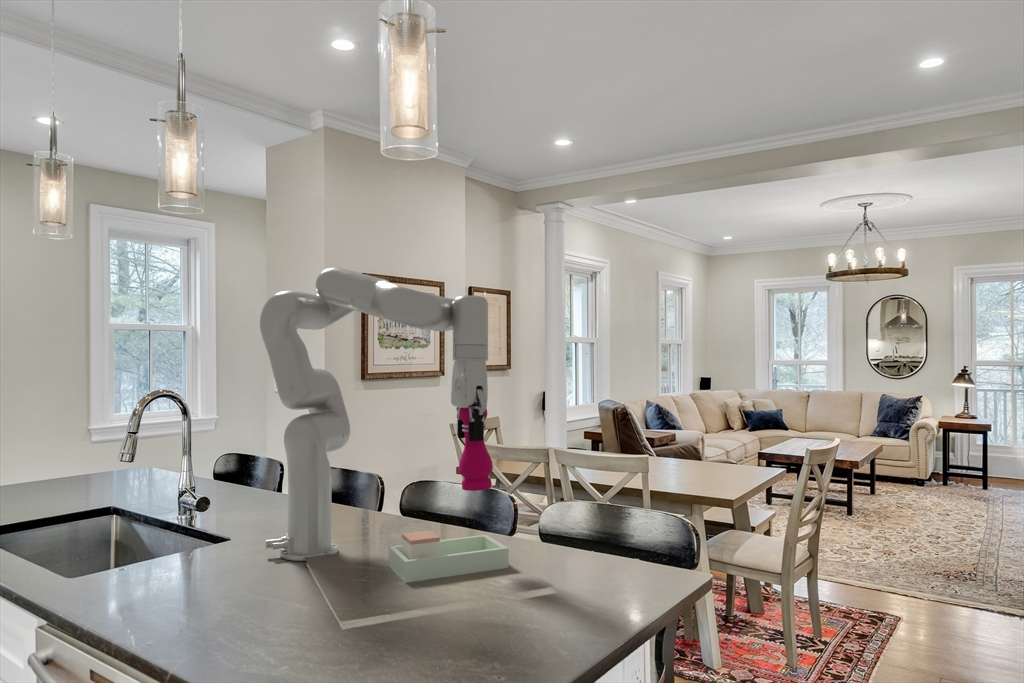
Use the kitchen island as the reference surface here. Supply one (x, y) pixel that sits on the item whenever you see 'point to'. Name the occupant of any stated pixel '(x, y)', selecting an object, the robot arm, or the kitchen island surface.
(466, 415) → the pepper mill
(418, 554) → the box
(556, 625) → the kitchen island surface
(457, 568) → the tray
